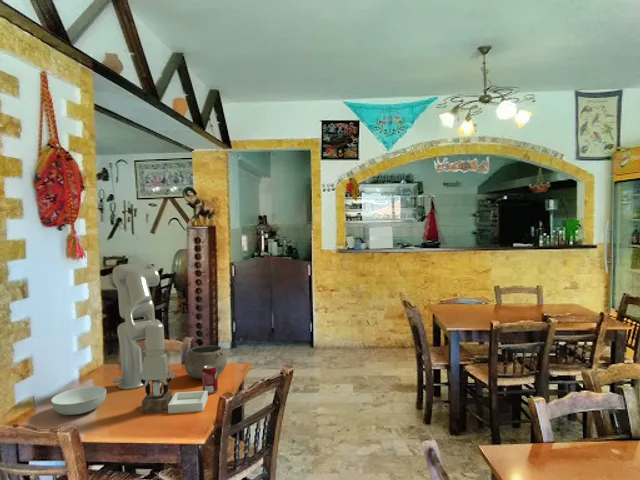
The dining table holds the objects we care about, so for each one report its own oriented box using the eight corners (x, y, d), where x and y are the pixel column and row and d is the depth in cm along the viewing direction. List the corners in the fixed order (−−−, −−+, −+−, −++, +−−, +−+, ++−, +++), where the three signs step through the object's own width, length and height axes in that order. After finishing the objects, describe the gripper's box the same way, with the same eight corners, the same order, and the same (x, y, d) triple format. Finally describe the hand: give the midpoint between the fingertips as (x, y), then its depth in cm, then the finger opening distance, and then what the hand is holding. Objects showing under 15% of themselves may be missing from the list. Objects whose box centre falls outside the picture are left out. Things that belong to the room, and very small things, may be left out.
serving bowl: (112, 398, 203) (111, 383, 203) (99, 417, 183) (99, 401, 183) (61, 403, 199) (61, 388, 199) (43, 423, 178) (42, 406, 178)
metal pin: (151, 409, 189) (150, 379, 188) (154, 406, 193) (152, 376, 192) (161, 409, 189) (160, 378, 189) (163, 405, 193) (162, 375, 193)
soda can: (214, 394, 204) (213, 368, 204) (200, 394, 205) (199, 368, 205) (220, 389, 211) (219, 364, 210) (206, 388, 212) (206, 363, 212)
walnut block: (142, 413, 186) (141, 401, 185) (148, 403, 196) (148, 392, 195) (166, 411, 187) (166, 399, 186) (172, 402, 197) (171, 391, 196)
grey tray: (168, 413, 185) (167, 405, 185) (175, 400, 199) (175, 392, 198) (202, 411, 186) (202, 402, 186) (207, 398, 200) (207, 390, 200)
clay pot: (182, 375, 234) (181, 346, 233) (222, 368, 242) (221, 341, 242) (188, 387, 214) (187, 356, 214) (231, 380, 223) (230, 350, 223)
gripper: (131, 355, 186) (133, 398, 186) (174, 353, 187) (175, 395, 188) (137, 351, 193) (138, 392, 194) (178, 348, 195) (179, 389, 195)
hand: (157, 393), depth 191 cm, fingers open, 6 cm apart
